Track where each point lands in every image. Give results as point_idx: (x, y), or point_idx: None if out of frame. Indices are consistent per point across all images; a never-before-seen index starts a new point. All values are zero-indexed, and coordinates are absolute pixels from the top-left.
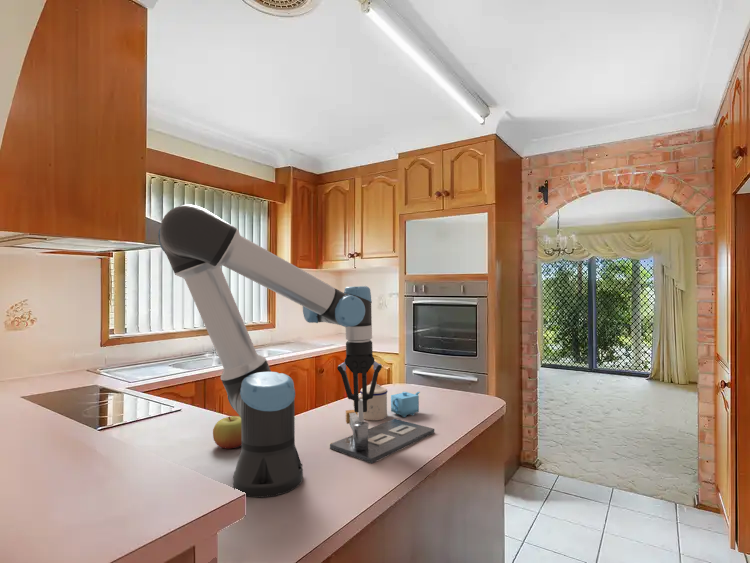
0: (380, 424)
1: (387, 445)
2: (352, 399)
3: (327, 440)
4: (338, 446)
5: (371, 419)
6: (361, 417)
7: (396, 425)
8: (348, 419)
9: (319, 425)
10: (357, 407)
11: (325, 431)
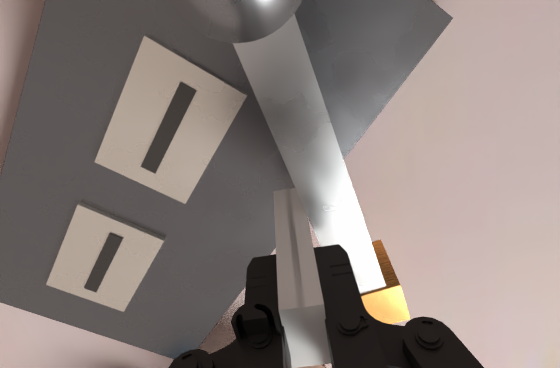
0: (227, 305)
1: (99, 47)
2: (388, 327)
3: (458, 132)
4: None
5: None
6: (285, 216)
7: (153, 304)
8: (377, 258)
9: (498, 289)
10: (325, 273)
11: (470, 234)
